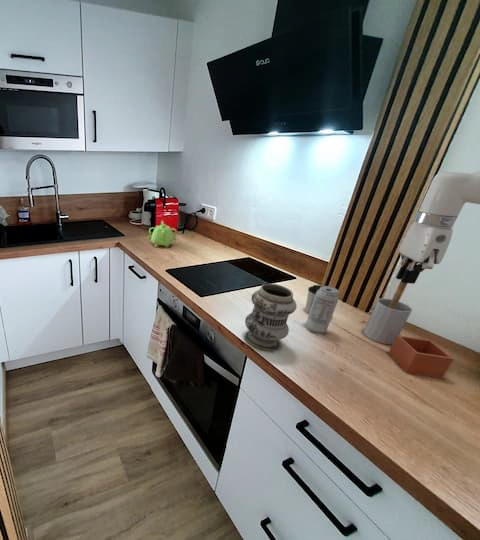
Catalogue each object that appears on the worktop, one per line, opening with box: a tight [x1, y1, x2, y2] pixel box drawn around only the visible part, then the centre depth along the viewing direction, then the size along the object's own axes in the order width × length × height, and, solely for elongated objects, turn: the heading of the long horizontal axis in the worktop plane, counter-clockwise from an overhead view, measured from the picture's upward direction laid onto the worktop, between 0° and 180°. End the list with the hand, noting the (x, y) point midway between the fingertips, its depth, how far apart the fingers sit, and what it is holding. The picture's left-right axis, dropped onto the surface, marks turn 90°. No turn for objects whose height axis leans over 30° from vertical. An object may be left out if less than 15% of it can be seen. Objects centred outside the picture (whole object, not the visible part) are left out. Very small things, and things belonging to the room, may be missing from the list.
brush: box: [388, 263, 411, 309], centre depth 87 cm, size 4×4×22 cm
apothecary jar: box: [244, 283, 297, 352], centre depth 85 cm, size 12×12×18 cm
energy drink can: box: [305, 285, 340, 334], centre depth 93 cm, size 6×6×15 cm
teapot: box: [147, 220, 178, 248], centre depth 172 cm, size 16×14×13 cm
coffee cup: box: [304, 284, 322, 314], centre depth 104 cm, size 7×7×10 cm
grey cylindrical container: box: [363, 297, 413, 345], centre depth 90 cm, size 8×8×12 cm
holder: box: [387, 335, 455, 379], centre depth 79 cm, size 8×8×6 cm
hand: (404, 280), depth 85 cm, fingers closed on brush
